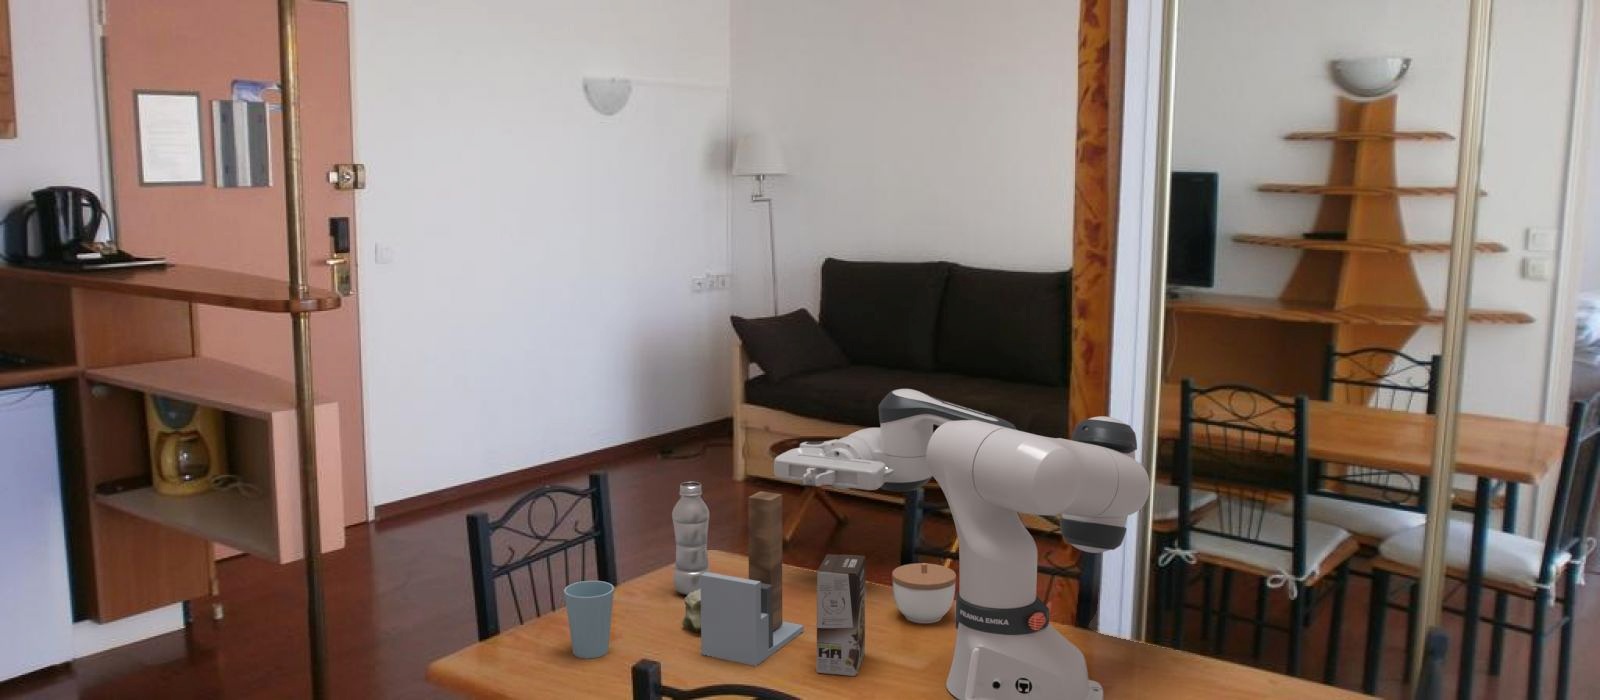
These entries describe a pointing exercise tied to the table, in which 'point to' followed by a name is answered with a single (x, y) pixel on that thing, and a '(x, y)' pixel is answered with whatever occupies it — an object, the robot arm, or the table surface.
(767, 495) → the peg
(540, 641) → the table surface
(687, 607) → the rock
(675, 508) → the plastic bottle
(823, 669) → the coffee box
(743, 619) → the blue-grey stand
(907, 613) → the lidded jar
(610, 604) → the cup
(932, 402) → the robot arm
